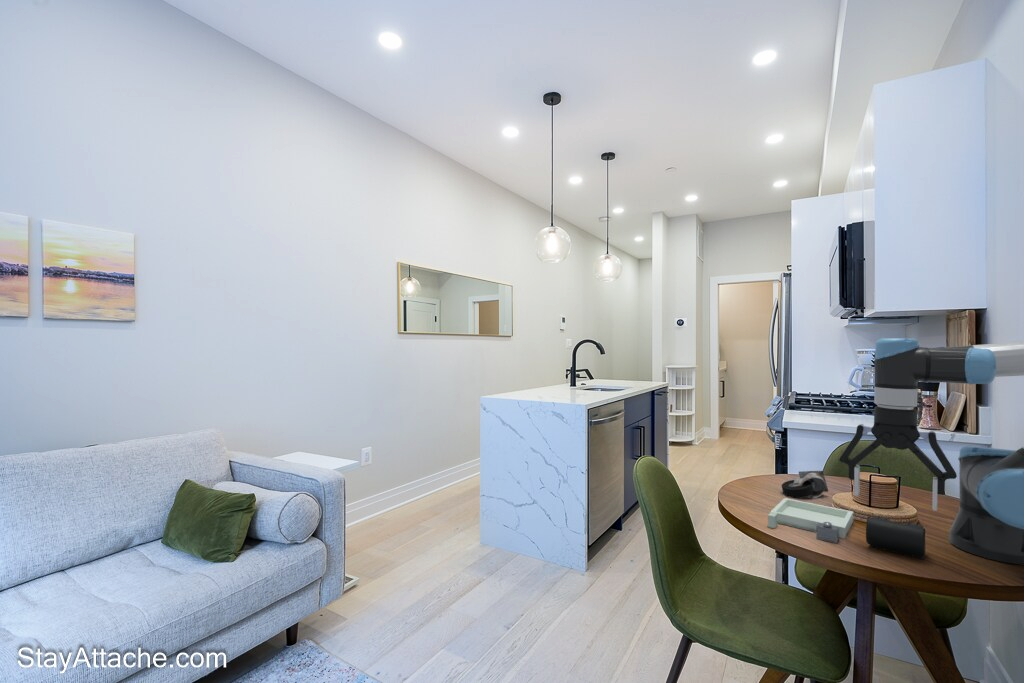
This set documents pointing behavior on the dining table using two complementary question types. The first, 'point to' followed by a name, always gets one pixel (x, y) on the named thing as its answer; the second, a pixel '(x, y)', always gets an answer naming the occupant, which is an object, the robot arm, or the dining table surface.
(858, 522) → the dining table surface
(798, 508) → the pale green tray
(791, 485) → the caster wheel
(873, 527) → the end cap
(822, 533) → the block
